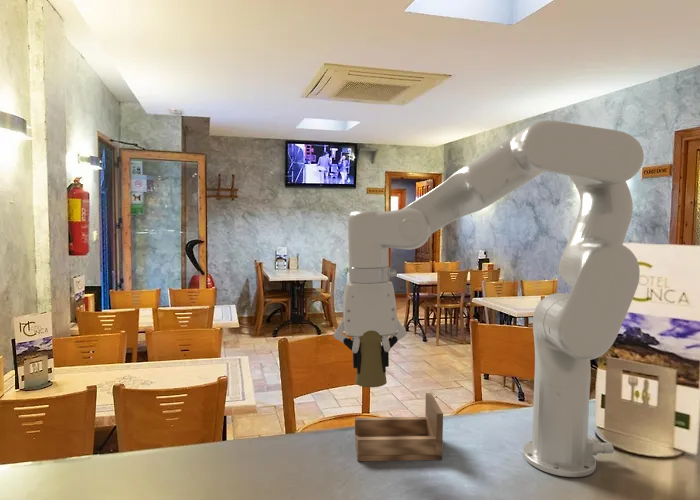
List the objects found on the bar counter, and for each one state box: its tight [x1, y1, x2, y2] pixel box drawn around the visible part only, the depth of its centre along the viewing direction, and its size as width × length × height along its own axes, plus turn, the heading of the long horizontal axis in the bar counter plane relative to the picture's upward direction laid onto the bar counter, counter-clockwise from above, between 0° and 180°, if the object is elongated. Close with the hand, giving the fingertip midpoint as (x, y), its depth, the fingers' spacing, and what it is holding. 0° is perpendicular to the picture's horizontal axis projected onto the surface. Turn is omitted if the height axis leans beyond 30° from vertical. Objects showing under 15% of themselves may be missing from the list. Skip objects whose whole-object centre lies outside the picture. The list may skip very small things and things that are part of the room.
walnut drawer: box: [354, 392, 444, 462], centre depth 95 cm, size 16×10×9 cm, turn 92°
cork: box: [355, 330, 387, 388], centre depth 92 cm, size 6×6×11 cm
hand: (370, 370), depth 92 cm, fingers closed on cork, 4 cm apart
